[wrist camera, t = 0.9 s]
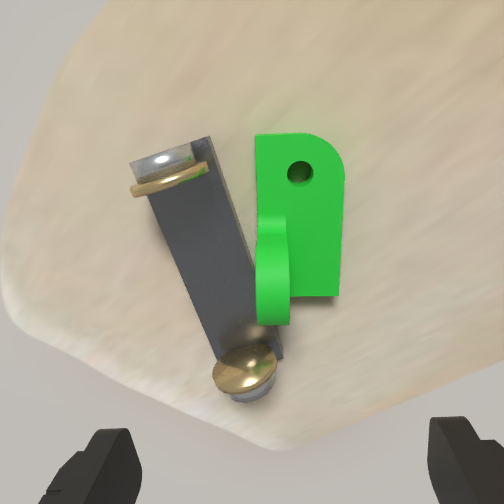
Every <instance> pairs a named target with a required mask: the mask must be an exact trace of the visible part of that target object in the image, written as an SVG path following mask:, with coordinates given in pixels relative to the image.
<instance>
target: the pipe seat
mask: <svg viewBox="0 0 504 504" xmlns="http://www.w3.org/2000/svg"><path fill="white" fill-rule="evenodd" d="M129 164H130V166H131V169H132V171H133V173H134V176H135V178H136V180H137V184H135V185H133V186H131V187H130V188H129V189H130V191H131V193H132V196H133V197H141V196H145V195H147V197H148V199H149V201H150V204H151V206H152V208H153V211H154V213H155V215H156V218H157V220H158V222H159V225H160V227H161V229H162V232H163V234H164V237H165V239H166V241H167V244H168V246H169V248H170V251H171V253H172V255H173V258H174V260H175V262H176V265H177V267H178V269H179V272H180V274H181V276H182V279H183V281H184V283H185V286H186V288H187V291H188V293H189V295H190V298H191V300H192V302H193V305H194V307H195V309H196V312H197V314H198V316H199V319H200V321H201V323H202V326H203V328H204V330H205V333H206V335H207V338H208V340H209V342H210V345H211V347H212V349H213V352H214V354H215V356H216V359H217V363H216V364H215V366H214V369H213V373H212V376H213V380H214V382H215V384H216V386H217V388H218V389H219V390H220V391H222V392H224V393H227V394H229V396H230V398H231V399H233V400H234V401H237V402H251V401H254V400H257V399H259V398H261V397H262V396H264V395H265V394H266V393H267V392H268V391H269V390H270V389H271V388H272V386H273V384H274V380H275V376H274V372H275V370H276V367H277V360H278V359H282V358H283V348H282V345H281V342H280V339H279V337H278V334H277V331H276V328H275V325H258V322H257V309H256V270H255V267H254V264H253V261H252V258H251V255H250V252H249V249H248V246H247V243H246V240H245V238H244V235H243V232H242V229H241V226H240V223H239V220H238V217H237V214H236V211H235V208H234V206H233V203H232V200H231V197H230V194H229V191H228V188H227V185H226V182H225V179H224V176H223V173H222V171H221V168H220V165H219V162H218V159H217V156H216V153H215V150H214V147H213V144H212V141H211V139H210V136H207V137H204V138H202V139H199V140H196V141H193V142H190V143H187V144H184V145H181V146H178V147H175V148H172V149H169V150H166V151H163V152H160V153H157V154H155V155H152V156H149V157H146V158H143V159H140V160H137V161H134V162H131V163H129Z"/></svg>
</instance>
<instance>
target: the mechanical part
mask: <svg viewBox="0 0 504 504" xmlns="http://www.w3.org/2000/svg"><path fill="white" fill-rule="evenodd" d="M255 153H256V180H257V207H258V237H257V245H256V309H257V322H258V325H289V323H290V297H294V296H339V277H340V258H341V238H342V219H343V200H344V180H345V173H344V167H343V163H342V160H341V158H340V156H339V154H338V153H337V151H336V150H335V149H334V148H333V147H332V146H331V145H330V144H329V143H328V142H326V141H325V140H323V139H321V138H319V137H317V136H315V135H312V134H308V133H282V134H258V135H255ZM296 161H305V162H307V163H309V164H310V167H311V173H310V175H309V177H308V178H307V179H306V180H305V181H303V182H300V183H296V182H293V181H291V180H290V179H289V178H288V176H287V171H288V168H289V167H290V165H291V164H293V163H294V162H296Z"/></svg>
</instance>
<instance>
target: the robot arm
mask: <svg viewBox="0 0 504 504" xmlns="http://www.w3.org/2000/svg"><path fill="white" fill-rule="evenodd" d="M427 462H428V470H429V475H430V479H431V483H432V486H433V489H434V491H435V493H436V496H437V499H438V501H439V503H440V504H504V448H503V447H502V446H501V445H500V444H499V443H498V442H497V441H495V440H480V439H479V437H478V435H477V434H476V432H475V430H474V429H473V427H472V425H471V424H470V422H469V421H468V420H467V419H466V418H465V417H464V416H459V417H458V416H457V417H433V418H431V419H430V426H429V442H428V457H427ZM141 481H142V468H141V464H140V461H139V458H138V455H137V452H136V449H135V446H134V443H133V440H132V438H131V435H130V432H129V430H128V429H126V428H118V429H100V430H98V431H97V432H95V434H94V435H93V437H92V438H91V440H90V442H89V444H88V446H87V447H86V449H85V451H77V452H76V454H74V455H73V456H72V457H71V458H70V459H69V460H68V461H67V462H66V463H65V464H64V465H63V466H62V467H61V468H60V469H59V471H58V473H57V474H56V476H55V477H54V479H53V481H52V482H51V484H50V485H49V487H48V489H47V490H46V494H45V495H43V497H42V498H41V500H40V502H39V503H38V504H135V502H136V499H137V496H138V494H139V491H140V487H141Z"/></svg>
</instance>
